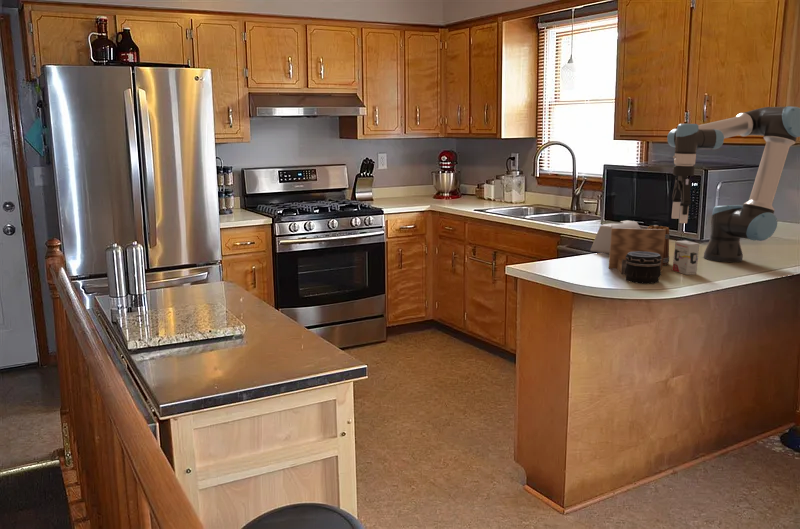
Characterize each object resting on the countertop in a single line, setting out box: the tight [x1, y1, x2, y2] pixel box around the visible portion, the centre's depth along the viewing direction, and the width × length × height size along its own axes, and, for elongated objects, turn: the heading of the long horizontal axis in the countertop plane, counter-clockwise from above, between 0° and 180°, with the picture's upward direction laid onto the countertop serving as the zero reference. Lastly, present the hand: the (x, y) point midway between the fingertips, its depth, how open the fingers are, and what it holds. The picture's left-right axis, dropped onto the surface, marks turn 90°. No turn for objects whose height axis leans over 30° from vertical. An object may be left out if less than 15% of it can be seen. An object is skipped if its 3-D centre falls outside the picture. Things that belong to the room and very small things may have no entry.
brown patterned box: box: [608, 228, 666, 275], centre depth 274 cm, size 20×11×16 cm, turn 83°
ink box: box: [672, 240, 700, 276], centre depth 275 cm, size 9×5×12 cm, turn 16°
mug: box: [646, 224, 671, 267], centre depth 294 cm, size 16×11×15 cm
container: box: [624, 251, 662, 285], centre depth 259 cm, size 13×13×10 cm
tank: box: [590, 219, 642, 255], centre depth 320 cm, size 25×16×12 cm, turn 135°
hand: (679, 220), depth 274 cm, fingers open, 13 cm apart
